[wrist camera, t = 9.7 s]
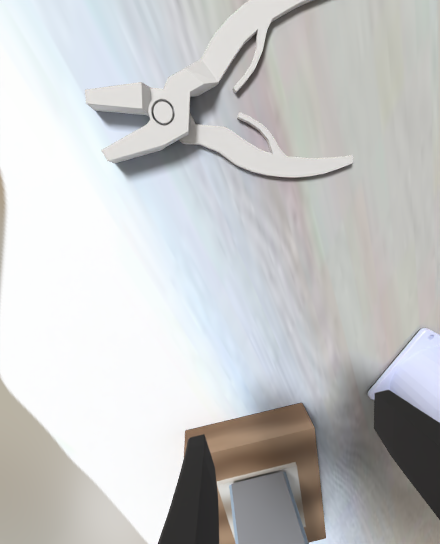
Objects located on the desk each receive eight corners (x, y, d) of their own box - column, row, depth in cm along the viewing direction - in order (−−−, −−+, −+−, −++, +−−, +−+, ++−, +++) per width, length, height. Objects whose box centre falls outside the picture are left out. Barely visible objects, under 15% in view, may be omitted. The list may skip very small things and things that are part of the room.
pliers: (361, 165, 15) (124, 218, 14) (346, 168, 16) (130, 216, 16) (359, -51, 12) (54, 10, 11) (340, -23, 13) (71, 31, 13)
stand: (185, 430, 22) (183, 463, 19) (301, 402, 22) (316, 431, 19) (220, 531, 27) (223, 568, 24) (314, 508, 27) (327, 542, 24)
